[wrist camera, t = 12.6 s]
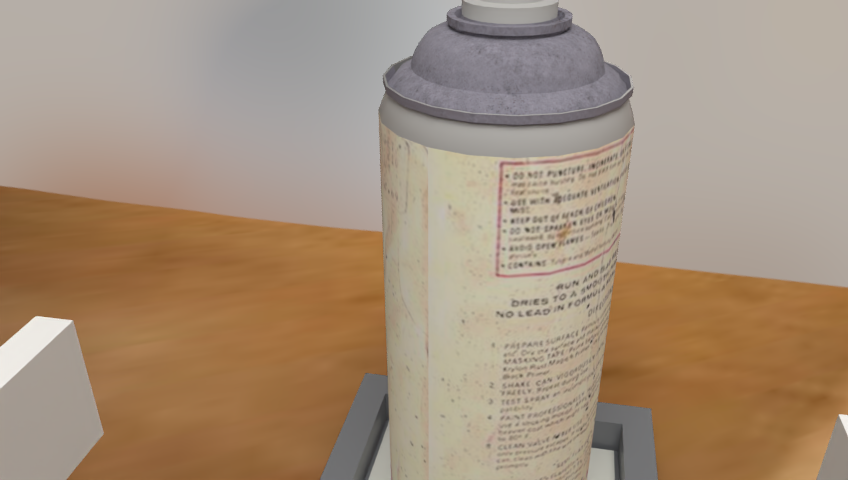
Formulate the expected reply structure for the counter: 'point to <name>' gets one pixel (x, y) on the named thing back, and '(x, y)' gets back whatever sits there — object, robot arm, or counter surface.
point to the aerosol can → (500, 241)
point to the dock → (370, 440)
